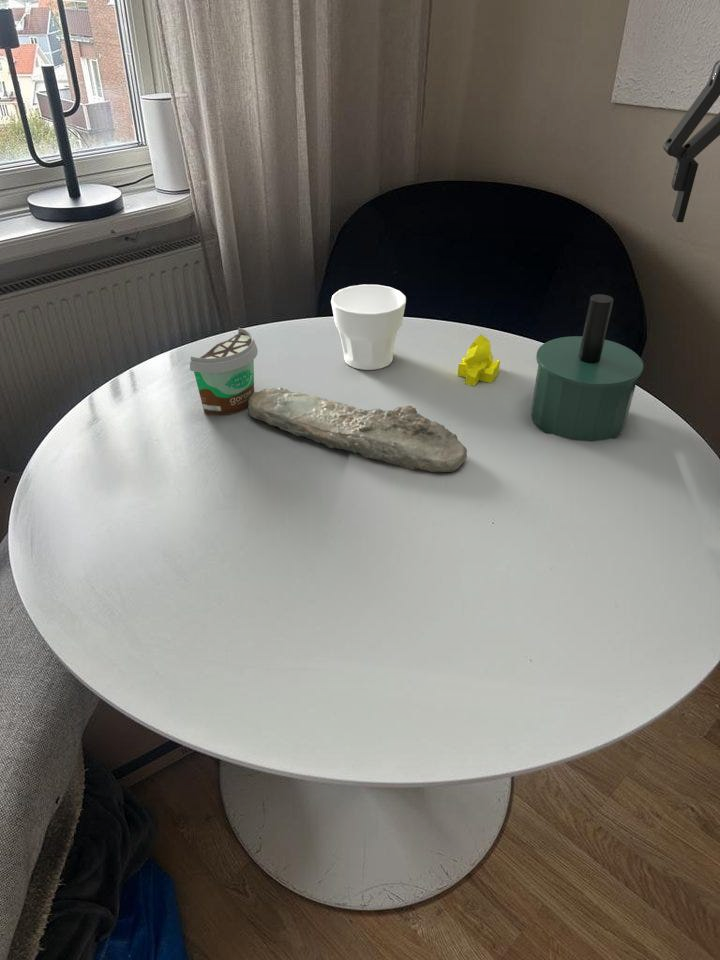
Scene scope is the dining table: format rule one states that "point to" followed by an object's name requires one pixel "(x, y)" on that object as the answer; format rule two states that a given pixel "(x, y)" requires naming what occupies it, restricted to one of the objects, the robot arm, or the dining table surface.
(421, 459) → the elongated rock
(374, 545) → the dining table surface
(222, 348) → the food container
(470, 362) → the yellow faceted cluster
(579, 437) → the pot
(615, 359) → the pot lid
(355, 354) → the cup
